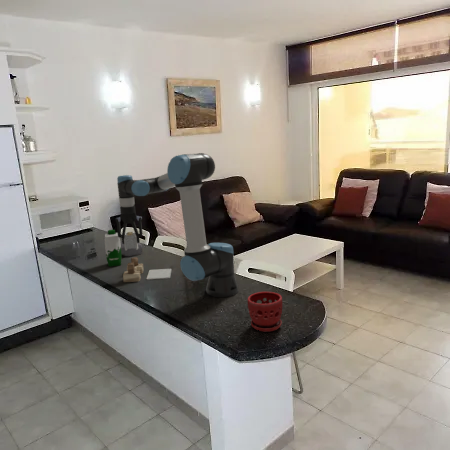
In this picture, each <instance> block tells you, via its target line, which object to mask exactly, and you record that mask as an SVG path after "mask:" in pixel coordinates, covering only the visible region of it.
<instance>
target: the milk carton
mask: <svg viewBox="0 0 450 450" xmlns="http://www.w3.org/2000/svg"><path fill="white" fill-rule="evenodd" d="M103 239H104V248H105V257H106V262H107V266H108V267H117V266H118V267H119V266H122V256H123V255H122V254H121V244H120V242H121V237H118V232H116V230H115V229H109V230H107V233H104V238H103Z"/></svg>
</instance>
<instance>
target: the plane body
mask: <svg viewBox="0 0 450 450" xmlns="http://www.w3.org/2000/svg"><path fill="white" fill-rule="evenodd" d="M130 261H131V262H128V263H127V265H126V271H124V272H123V273H122V279H123V283H131V282H133V283H136V282H140V281H141V279H142V277H141V274H143V273H144V263H139V258H138V257H135V256H133V257H131V258H130Z"/></svg>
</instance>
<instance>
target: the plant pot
mask: <svg viewBox="0 0 450 450" xmlns="http://www.w3.org/2000/svg"><path fill="white" fill-rule="evenodd" d="M247 297H248V298H247V309H248V314H249V316H250V319H251V321H250V325H251V327H252V328H254V329H255V330H257V331H258V330H259V332H266V333H267V332H269V333H270V332H273V331H276V330H279V328H280V327H281V325H282V323H283V322H282V320H281V317H282V313H283V297H282V294H280V293H277V292H273V291H258V292H254V293H252V294H250V295H249V296H247ZM264 299H266V300H264ZM258 301H260V302H261V303H258ZM270 301H271V302H270Z"/></svg>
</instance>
